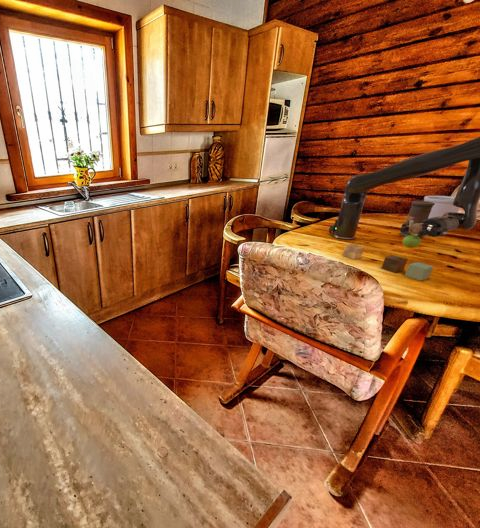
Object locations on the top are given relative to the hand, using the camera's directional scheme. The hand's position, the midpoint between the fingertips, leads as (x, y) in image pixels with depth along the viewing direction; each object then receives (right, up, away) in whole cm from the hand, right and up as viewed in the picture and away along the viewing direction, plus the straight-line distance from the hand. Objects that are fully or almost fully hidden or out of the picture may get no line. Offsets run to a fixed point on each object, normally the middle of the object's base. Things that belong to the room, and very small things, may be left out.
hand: (410, 231), depth 113 cm
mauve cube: (-12, -10, +15) cm, 22 cm away
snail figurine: (+3, -6, +4) cm, 8 cm away
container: (+38, +2, +37) cm, 54 cm away
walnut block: (-6, -15, +1) cm, 17 cm away
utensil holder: (+59, +7, +46) cm, 75 cm away
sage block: (-4, -18, -6) cm, 19 cm away
